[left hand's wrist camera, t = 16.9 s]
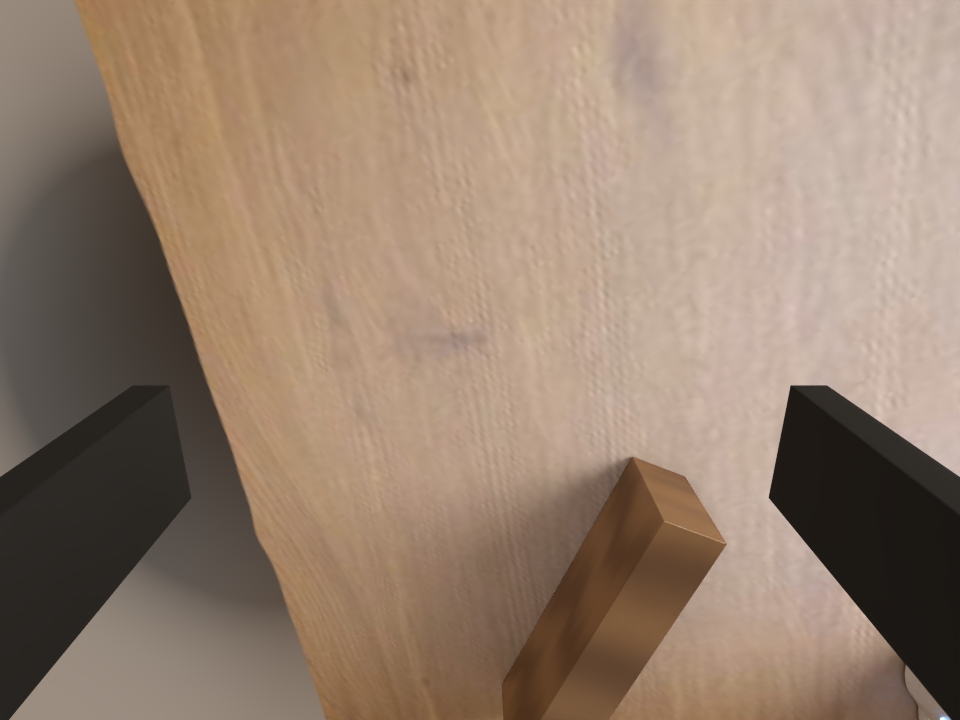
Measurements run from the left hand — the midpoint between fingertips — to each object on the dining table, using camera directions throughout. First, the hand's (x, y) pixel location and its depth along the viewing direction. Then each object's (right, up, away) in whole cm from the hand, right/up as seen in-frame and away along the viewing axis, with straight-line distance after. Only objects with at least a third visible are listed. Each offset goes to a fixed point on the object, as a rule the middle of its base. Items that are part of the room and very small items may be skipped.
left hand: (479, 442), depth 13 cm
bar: (+10, -19, +42) cm, 47 cm away
